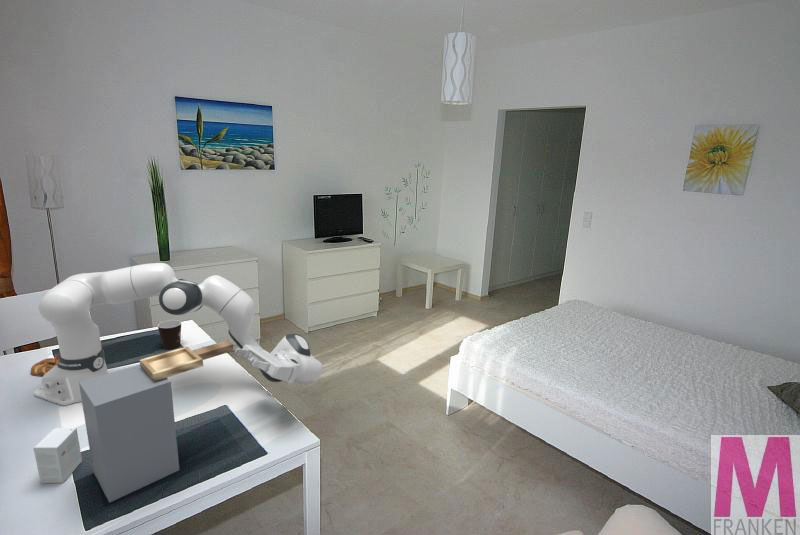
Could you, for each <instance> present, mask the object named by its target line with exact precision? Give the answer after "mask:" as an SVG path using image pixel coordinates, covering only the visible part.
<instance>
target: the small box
mask: <svg viewBox="0 0 800 535" xmlns="http://www.w3.org/2000/svg"><path fill="white" fill-rule="evenodd" d="M33 451H34V457H35V462H36V466H37V472H38V477H39V482H40V483H41V484H60V483H61V484H62V483H65V481H66V480H67V479H69V477H70V476H71V475H72V473H74V471H75V470H76V469H77V468H78V467H79V465H80V464H81V463H82V462H83V458H82V452H81V445H80V440H79V435H78V428H77V427H53V429H52V430H50V431H49V432H48V433H47V434H46V435H45V436H44V437H43V438H42V439H41V440H39V442H38V443H37V444H36V445H35V446H33Z"/></svg>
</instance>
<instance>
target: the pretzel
mask: <svg viewBox="0 0 800 535" xmlns="http://www.w3.org/2000/svg"><path fill="white" fill-rule="evenodd" d="M54 357H55V358H57V357H56V356H54ZM54 357H48V358H45V359H42V360H40V361H38V362H36V363H34V364H33V365H32V366H31V367H30V368H31V369H30V374H31V375H32V376H34V377H35V376H36V377H39V376H40V377H43V376H44V375H45V374H46V373H47V372H48V371H49V370H51V369H52V368H53V367H55V366H56V365H57V363H58V359H57V360H54V359H55V358H54Z"/></svg>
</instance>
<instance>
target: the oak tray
mask: <svg viewBox="0 0 800 535" xmlns="http://www.w3.org/2000/svg"><path fill="white" fill-rule="evenodd" d="M230 352H235V351H234V343H232V342H230V341H229V340H224V341H220V342H216V343H213V344H209V345H205V346H201V347H200V348H196V349H193V350H192V349H191V348H190V347H188V346H183V347H181V348H180V347H179V348H176V349H172V350H168V351H166V352H163V353H159V354H156V355H152V356H148V357H144V358H140V359H139V365H140V367H141V368H142V369H143V370H144V371H145V372H146V373H147V374H148V376H149V377H150V378H151V379H152V380H153V381H154V382H155V381H158V380H161V379H164V378H170V377H173V376H176V375H179V374H183V373H187V372H189V371H192V370H195V369H199V368H201V367H204V360H207V359H211V358H214V357H218V356H221V355H224V354H228V353H230Z"/></svg>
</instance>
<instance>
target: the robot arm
mask: <svg viewBox="0 0 800 535" xmlns="http://www.w3.org/2000/svg"><path fill="white" fill-rule="evenodd" d="M151 297H158V303H159V305H160V307H161V309H162V310H164V312H166V313H168V314H170V315H173V316H181V315H189V314H192V313H195V312H197V311H199V310H200V309H201V308H202V307H203V306H204V307H207V308H209V309H210V310H212V311H213V312H215V313H216V314H217V315H219V316H220V317H221V318H222V319H223V320H224V322H225V323H226V325H227V328H228V335H229V336H230V338H231V339H232V341H234V343H235V344H236V345H237V346H238V348H236V349H235V351H234V354H236V356H239V357H243V358H245V359H246V360H248V361H249V362H250V365H251V366H252V367H253V368H257V369H258V370H259V371H260V372H261V374H262V375H263V376H264V377H265V379H266V380H268V381H269V382H271V383H280V382H284V383H286V384H288V385H292V384H294V383H297V384H313V383H315V382H316V381H317V380H318V379H319V378H320V377H321V374H322V372H323V364H322V362H321V361H320V360H318V359H316V357H315V356H313V355H312V353H311V349H310V344H309V342H308V341H307V339H306V338H305V337H304V336H302V335H300V334H297V333H286V335H284V336H283V337H282V339H281V340H280V341H279V342H277V344H276V346H275V347H274V348H273V350H272V351H271V352H269V351H267V350H265V349H264V348H262V347H261V345H259V343H258V342H257V341H256V340H255V339H254V337H253V336H252V331H251V330H252V324H253V321H254V317H255V314H256V305H255V302H254V300H253V297H251V296H250V295H249V294H248V293H247V292H245V291H244V290H243V289H242V288H241V287H239V286H238V285H236V284H234V282H232V281H230V280H229V279H227V278H225V277H224V276H223V277H222V275H217V274H213V275H210V276H209V277H206V278H205V279H203V281H202V282H201V283H199V284H198V283H196V282H195V281H190V280H187V279H183V278H180V279H179V278H177V277H176V273H175V271H174V269H173V268H172V266H170V265H169V264H168V263H164V262H155V263H153V262H151V263H143V264H136V265H133V266H132V265H131V266H127V267H122V268H118V269H114V270H107V271H101V272H99V271H98V272H88V273H87V272H82V273H77V274H73V275H71V276H69V277H66V279H64V280H63V281H60V282H59V283H58V284H57V285H55V286H54V287H52V288H50V289H49V290H48V291H47V292H46V293H45V294H44V295H43V297H42V298H41V300H40V301H39V305H38V311H39V314H40V315H41V317H42V318H43V319H45V320H46V321H47V322H49V323H50V324H51V326H52V328H53V330H54V332H55V335H56V338H57V343H58V347H59V349H58V350H59V354H57V355H56V356H54V357H53V358H55V357H57V358H55V359H54V360H57V359H58V363H57V365H56V366H55V367H53V368H52V369H51V370H49V371H48V372H47V373H46V374H45V375H44V376H42V377H41V378H42V379H41V386H39V387H37V388H36V389H35V390H34V392H33V396H35V397H37V398H40V399H43V400H45V401H48V402H51V403H54V404H56V403H57V404H56V405H59V406H68V405H72V404H75V403H79V402H80V403H81V402H82V399H81V393H80V386H79V382H80V381H84V380H87V379H91V378H94V377H98V376H101V375H105V374H108V373H109V371H108V367H107V363H106V360H105V351H104V347H102V341H101V334H100V328H99V326H98V325H97V324H96V323H95V322H94V321H93V319H92V316H91V312H90V309H91V308H92V307H94V306H98V305H108V304H112V305H121V304H125V303H129V302H134V301H138V300H143V299H147V298H151Z"/></svg>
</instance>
